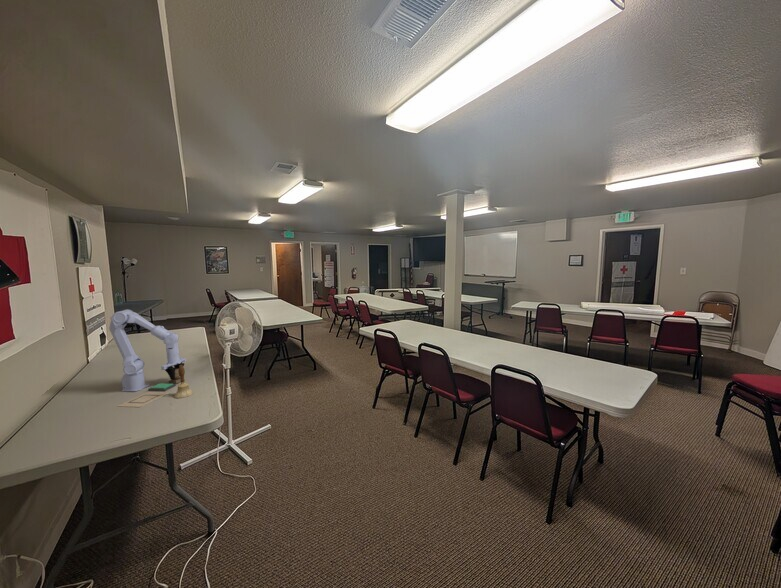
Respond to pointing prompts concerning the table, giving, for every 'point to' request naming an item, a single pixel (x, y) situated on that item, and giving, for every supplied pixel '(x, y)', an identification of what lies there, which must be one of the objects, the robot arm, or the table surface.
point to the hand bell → (183, 385)
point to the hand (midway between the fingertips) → (175, 377)
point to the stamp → (177, 378)
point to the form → (143, 399)
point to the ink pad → (161, 387)
